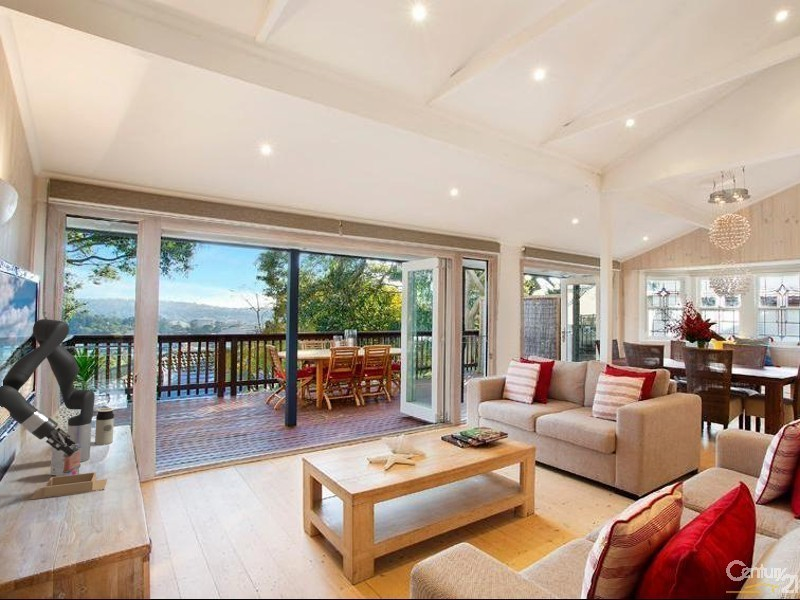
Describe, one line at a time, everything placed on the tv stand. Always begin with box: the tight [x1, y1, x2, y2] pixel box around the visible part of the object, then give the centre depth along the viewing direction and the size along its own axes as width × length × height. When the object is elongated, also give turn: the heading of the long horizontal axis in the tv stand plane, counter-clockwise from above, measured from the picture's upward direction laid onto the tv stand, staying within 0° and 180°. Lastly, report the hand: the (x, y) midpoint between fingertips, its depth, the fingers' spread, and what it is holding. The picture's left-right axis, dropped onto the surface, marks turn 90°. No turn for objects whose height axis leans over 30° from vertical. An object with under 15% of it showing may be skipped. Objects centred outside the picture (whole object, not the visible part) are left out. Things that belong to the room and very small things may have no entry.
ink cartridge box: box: [49, 446, 81, 477], centre depth 193 cm, size 10×6×14 cm, turn 78°
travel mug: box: [94, 407, 115, 446], centre depth 239 cm, size 8×8×18 cm
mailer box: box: [30, 471, 108, 500], centre depth 180 cm, size 15×23×4 cm, turn 119°
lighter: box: [63, 444, 82, 474], centre depth 179 cm, size 8×3×10 cm, turn 5°
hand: (74, 450), depth 179 cm, fingers closed on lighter, 7 cm apart
